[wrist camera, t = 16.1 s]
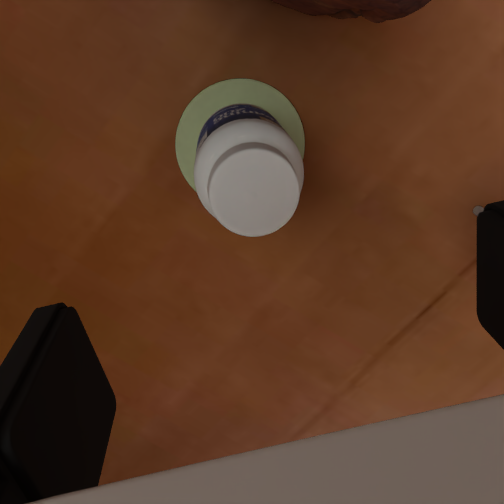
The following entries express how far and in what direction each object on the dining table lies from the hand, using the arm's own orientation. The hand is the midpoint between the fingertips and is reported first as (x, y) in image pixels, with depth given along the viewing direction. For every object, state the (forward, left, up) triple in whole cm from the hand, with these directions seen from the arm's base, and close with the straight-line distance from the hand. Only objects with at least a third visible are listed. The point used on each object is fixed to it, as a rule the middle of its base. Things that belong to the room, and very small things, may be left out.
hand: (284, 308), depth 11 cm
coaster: (+1, 0, -20) cm, 20 cm away
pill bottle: (+1, 0, -20) cm, 20 cm away
